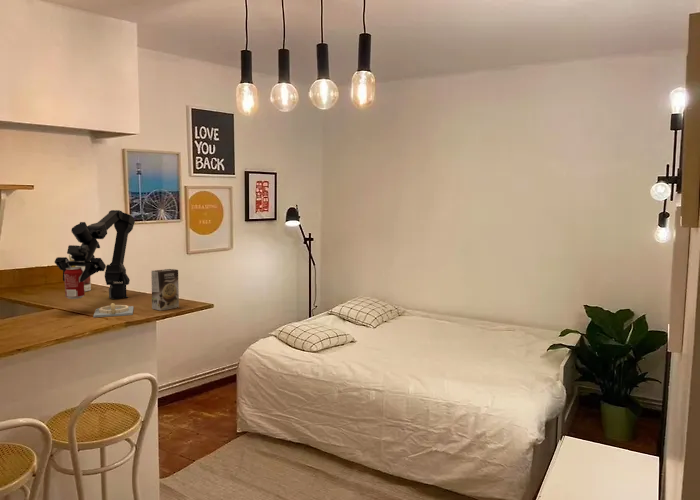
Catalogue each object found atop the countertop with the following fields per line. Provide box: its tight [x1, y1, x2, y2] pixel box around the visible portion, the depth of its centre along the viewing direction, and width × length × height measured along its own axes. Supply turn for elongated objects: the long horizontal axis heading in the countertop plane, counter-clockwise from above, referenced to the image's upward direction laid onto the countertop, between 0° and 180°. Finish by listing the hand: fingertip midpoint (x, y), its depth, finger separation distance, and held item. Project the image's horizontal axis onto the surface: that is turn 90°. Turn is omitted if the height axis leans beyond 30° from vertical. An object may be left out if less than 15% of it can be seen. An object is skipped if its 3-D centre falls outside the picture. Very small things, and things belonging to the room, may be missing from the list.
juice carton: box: [68, 254, 92, 293], centre depth 258 cm, size 8×9×19 cm
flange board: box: [92, 302, 134, 319], centre depth 211 cm, size 14×14×5 cm
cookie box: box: [150, 268, 180, 311], centre depth 220 cm, size 9×6×16 cm
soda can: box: [64, 267, 85, 300], centre depth 208 cm, size 7×7×12 cm
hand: (72, 281), depth 207 cm, fingers closed on soda can, 7 cm apart
